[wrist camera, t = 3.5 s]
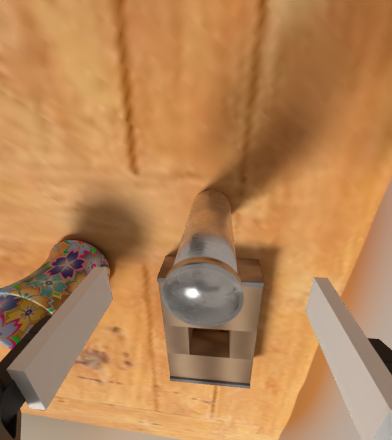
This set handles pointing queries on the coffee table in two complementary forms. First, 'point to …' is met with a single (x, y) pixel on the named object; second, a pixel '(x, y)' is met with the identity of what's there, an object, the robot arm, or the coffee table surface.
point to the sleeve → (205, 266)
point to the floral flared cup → (46, 288)
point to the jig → (215, 336)
